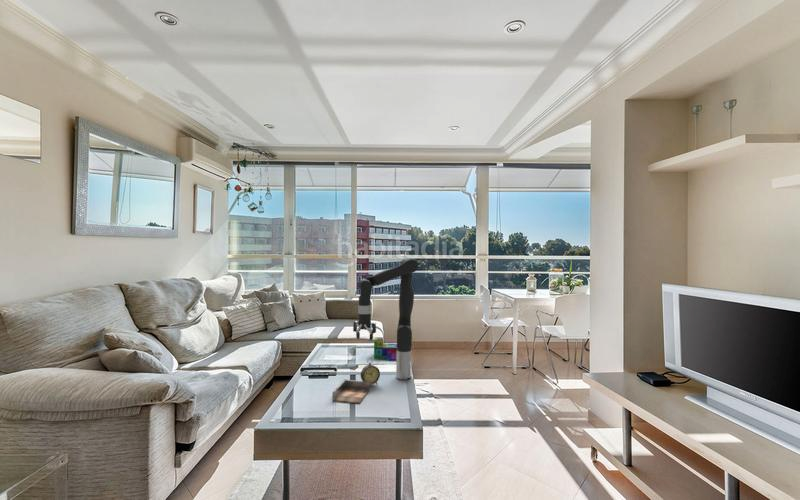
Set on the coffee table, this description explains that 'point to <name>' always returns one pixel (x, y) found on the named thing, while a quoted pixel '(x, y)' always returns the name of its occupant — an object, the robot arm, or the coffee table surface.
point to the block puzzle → (385, 349)
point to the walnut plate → (351, 395)
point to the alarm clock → (370, 374)
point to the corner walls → (350, 386)
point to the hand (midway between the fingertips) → (364, 339)
